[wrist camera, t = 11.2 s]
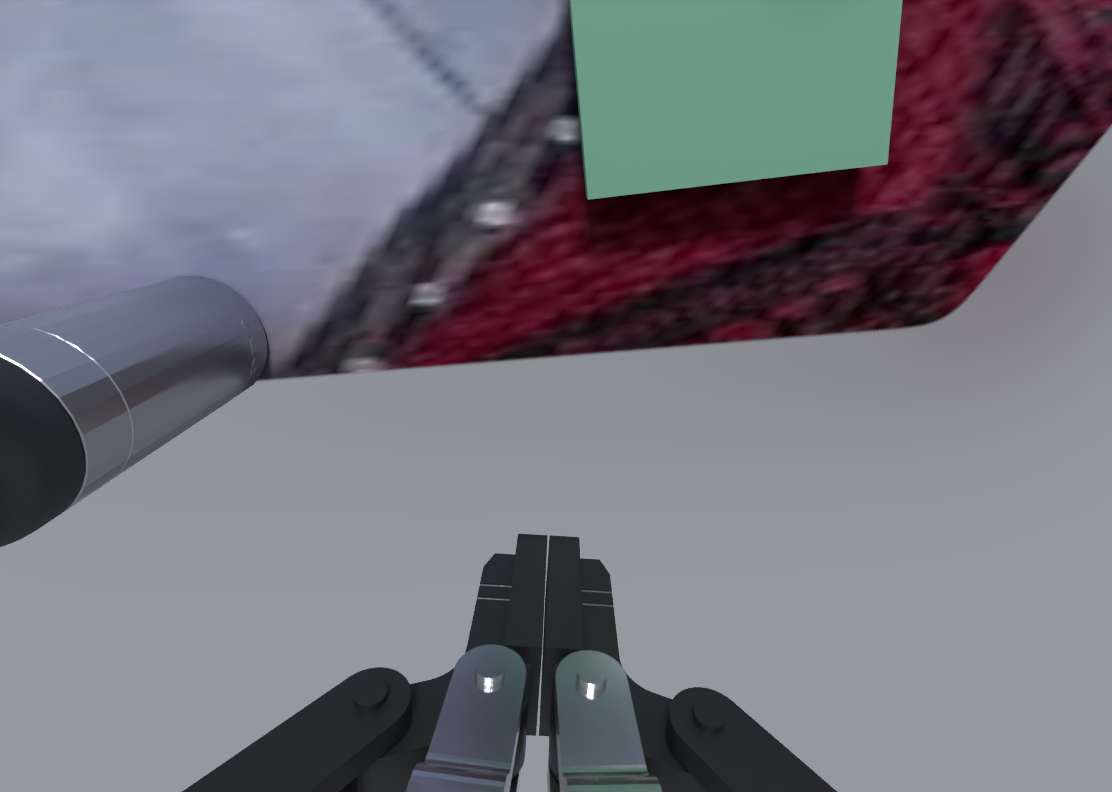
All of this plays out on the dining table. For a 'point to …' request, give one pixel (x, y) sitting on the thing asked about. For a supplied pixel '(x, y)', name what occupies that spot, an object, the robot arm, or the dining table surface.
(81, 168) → the dining table surface
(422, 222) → the dining table surface
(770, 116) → the mini golf green
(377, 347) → the dining table surface
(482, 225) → the dining table surface
